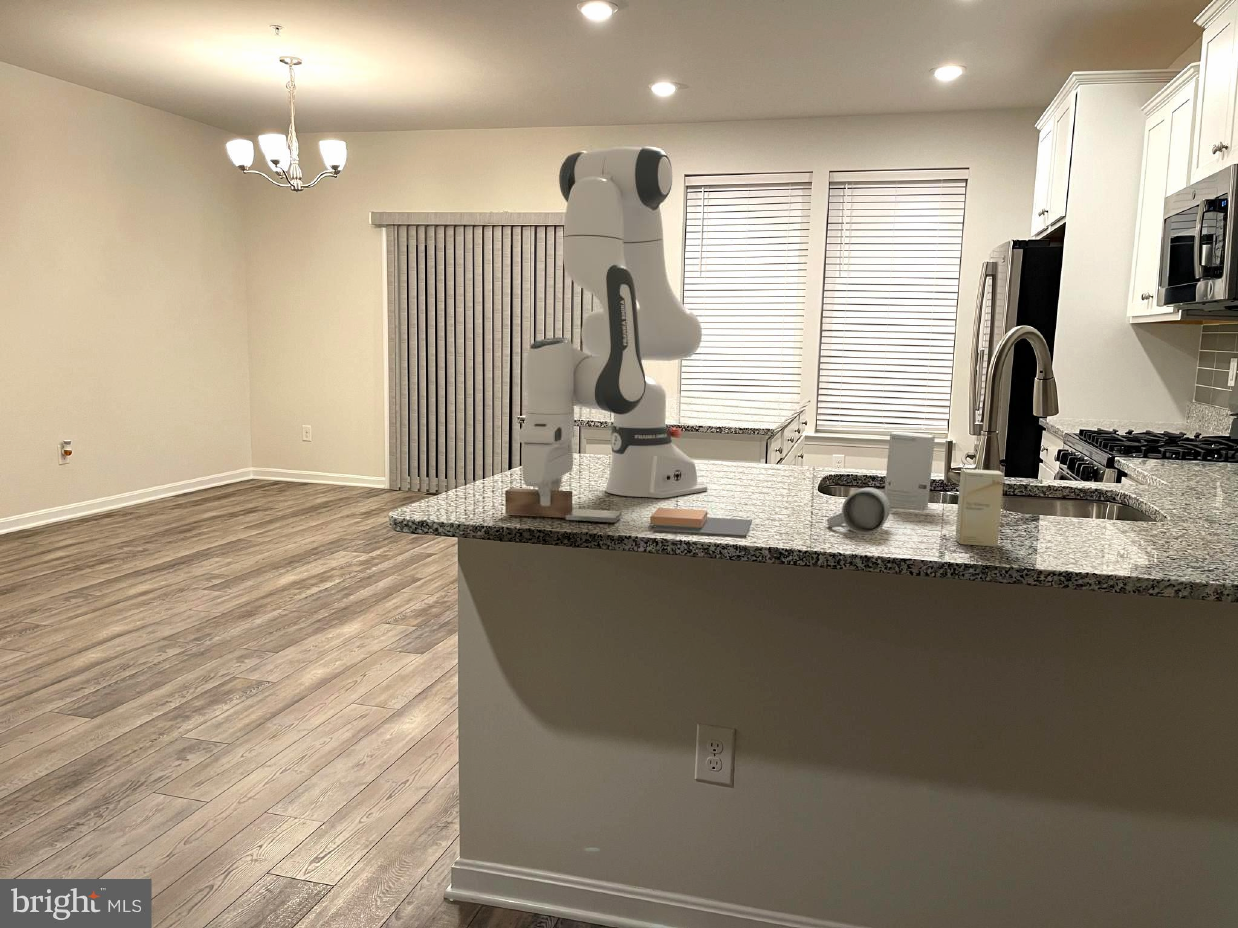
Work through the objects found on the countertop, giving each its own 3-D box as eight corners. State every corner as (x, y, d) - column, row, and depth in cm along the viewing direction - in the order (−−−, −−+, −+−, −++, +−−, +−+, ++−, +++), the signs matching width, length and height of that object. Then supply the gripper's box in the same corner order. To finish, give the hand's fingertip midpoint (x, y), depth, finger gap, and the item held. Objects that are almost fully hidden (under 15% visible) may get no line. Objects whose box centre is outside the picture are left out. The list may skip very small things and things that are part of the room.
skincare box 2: (959, 544, 149) (964, 472, 147) (954, 538, 153) (959, 468, 151) (999, 547, 148) (1005, 473, 146) (993, 541, 152) (999, 469, 150)
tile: (650, 516, 158) (701, 519, 156) (658, 507, 165) (707, 510, 164) (650, 526, 158) (701, 529, 156) (658, 517, 166) (707, 520, 164)
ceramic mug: (890, 527, 162) (892, 484, 161) (885, 536, 154) (887, 492, 153) (830, 522, 166) (831, 481, 165) (823, 531, 158) (824, 488, 157)
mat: (652, 531, 155) (652, 529, 155) (665, 516, 168) (665, 514, 168) (746, 537, 152) (746, 535, 152) (751, 521, 165) (751, 519, 165)
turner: (502, 515, 165) (502, 492, 164) (513, 509, 171) (513, 486, 170) (614, 522, 160) (614, 497, 160) (621, 515, 166) (622, 492, 166)
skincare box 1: (882, 507, 180) (887, 433, 178) (887, 502, 185) (892, 430, 183) (926, 511, 176) (931, 436, 174) (930, 506, 182) (935, 433, 180)
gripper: (549, 422, 174) (549, 492, 176) (515, 433, 155) (515, 512, 157) (581, 423, 173) (580, 494, 175) (550, 435, 153) (550, 514, 155)
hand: (549, 503), depth 166 cm, fingers open, 3 cm apart
